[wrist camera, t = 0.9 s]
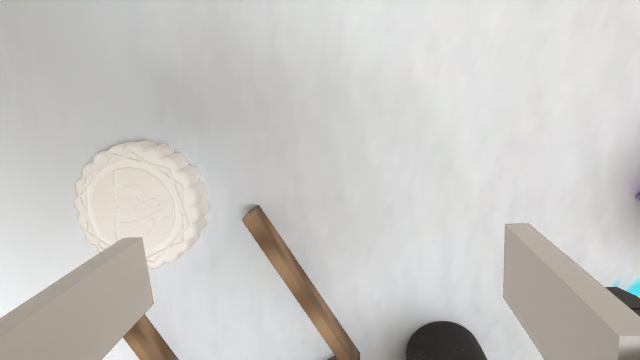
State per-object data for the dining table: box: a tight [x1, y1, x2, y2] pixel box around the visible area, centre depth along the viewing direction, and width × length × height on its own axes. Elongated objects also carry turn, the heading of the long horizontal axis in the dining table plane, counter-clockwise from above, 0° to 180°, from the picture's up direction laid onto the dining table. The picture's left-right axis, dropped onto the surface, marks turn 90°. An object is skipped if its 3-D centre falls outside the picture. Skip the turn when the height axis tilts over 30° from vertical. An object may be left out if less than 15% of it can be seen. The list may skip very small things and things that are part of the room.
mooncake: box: [74, 140, 210, 269], centre depth 40 cm, size 12×12×4 cm
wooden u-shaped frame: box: [123, 205, 360, 360], centre depth 42 cm, size 18×18×3 cm
